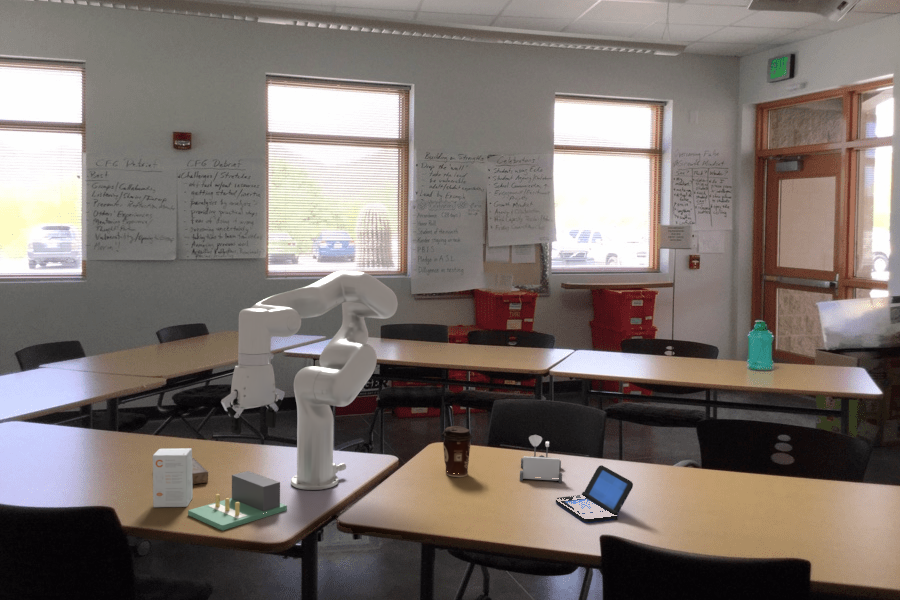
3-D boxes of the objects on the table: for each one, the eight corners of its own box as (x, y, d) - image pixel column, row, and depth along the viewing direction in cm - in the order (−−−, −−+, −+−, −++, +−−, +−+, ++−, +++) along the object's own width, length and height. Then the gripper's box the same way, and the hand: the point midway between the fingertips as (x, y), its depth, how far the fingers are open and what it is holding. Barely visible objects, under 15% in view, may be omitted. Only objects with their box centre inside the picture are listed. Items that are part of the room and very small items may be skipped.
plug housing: (248, 494, 195) (248, 470, 195) (279, 506, 187) (280, 482, 186) (231, 498, 191) (231, 475, 191) (263, 511, 183) (263, 486, 183)
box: (167, 488, 201) (167, 476, 201) (154, 471, 216) (155, 460, 216) (209, 483, 206) (209, 471, 206) (194, 467, 221) (194, 456, 221)
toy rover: (522, 432, 232) (561, 434, 230) (521, 464, 232) (560, 466, 231) (520, 448, 214) (563, 450, 212) (519, 482, 214) (561, 485, 213)
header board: (252, 496, 197) (252, 480, 196) (286, 510, 188) (286, 493, 187) (188, 515, 183) (188, 497, 183) (222, 530, 174) (222, 512, 174)
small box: (193, 498, 194) (192, 447, 193) (186, 507, 188) (186, 454, 187) (159, 498, 194) (159, 447, 193) (152, 507, 187) (152, 455, 186)
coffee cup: (437, 476, 217) (438, 431, 216) (444, 468, 225) (445, 424, 224) (467, 479, 215) (469, 433, 214) (474, 471, 223) (475, 426, 222)
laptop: (553, 503, 198) (554, 467, 197) (598, 498, 203) (600, 463, 202) (585, 525, 183) (586, 487, 183) (633, 519, 188) (634, 482, 187)
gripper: (275, 354, 195) (274, 421, 196) (213, 361, 182) (213, 433, 183) (293, 358, 190) (292, 427, 191) (231, 365, 177) (231, 438, 178)
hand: (253, 429), depth 187 cm, fingers open, 9 cm apart
